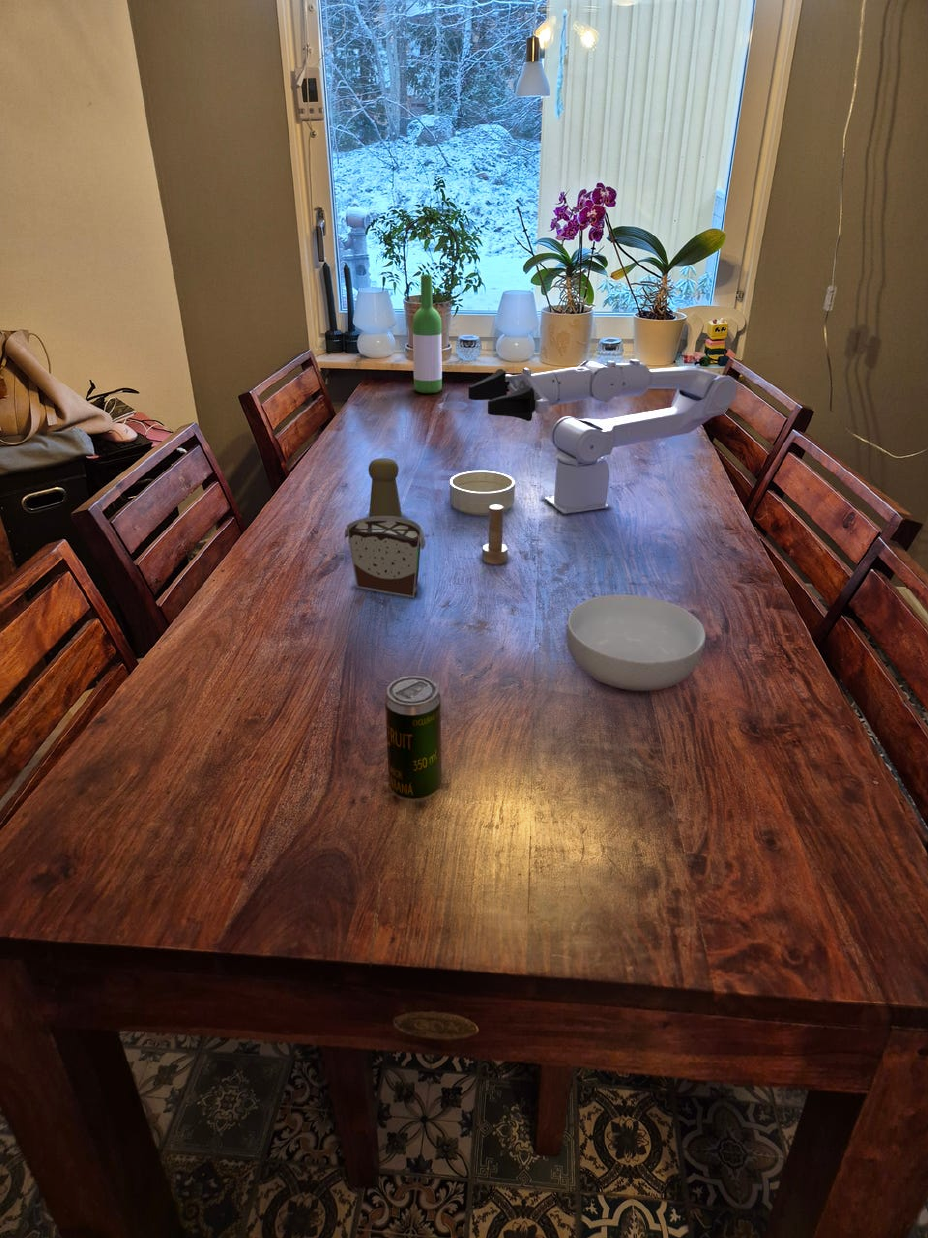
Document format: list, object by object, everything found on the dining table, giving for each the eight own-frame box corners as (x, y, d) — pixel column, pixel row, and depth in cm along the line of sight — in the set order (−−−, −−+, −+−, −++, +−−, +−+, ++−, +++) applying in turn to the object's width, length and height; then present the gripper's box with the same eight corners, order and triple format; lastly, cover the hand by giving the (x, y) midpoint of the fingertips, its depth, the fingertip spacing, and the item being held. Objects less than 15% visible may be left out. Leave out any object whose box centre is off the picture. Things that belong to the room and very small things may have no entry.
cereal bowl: (670, 729, 93) (678, 677, 89) (540, 684, 100) (543, 635, 97) (715, 661, 105) (724, 614, 102) (596, 627, 113) (601, 581, 110)
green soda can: (414, 762, 87) (411, 668, 81) (452, 784, 84) (452, 688, 78) (378, 788, 84) (372, 691, 78) (416, 812, 81) (413, 713, 75)
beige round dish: (498, 489, 160) (499, 467, 158) (524, 511, 150) (525, 488, 148) (441, 497, 156) (440, 474, 154) (463, 520, 146) (463, 496, 144)
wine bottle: (411, 393, 225) (408, 276, 210) (417, 386, 232) (415, 272, 217) (438, 394, 224) (438, 277, 209) (444, 388, 231) (443, 273, 216)
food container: (438, 581, 125) (437, 520, 120) (423, 599, 120) (422, 536, 115) (365, 569, 128) (361, 509, 123) (347, 586, 123) (343, 524, 118)
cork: (397, 527, 143) (395, 466, 138) (364, 524, 144) (361, 464, 139) (406, 514, 148) (404, 455, 143) (374, 511, 149) (371, 453, 144)
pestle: (501, 552, 134) (503, 500, 130) (511, 562, 131) (513, 509, 127) (478, 555, 133) (479, 503, 129) (488, 565, 130) (489, 512, 125)
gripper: (531, 353, 143) (461, 363, 139) (573, 378, 132) (498, 390, 128) (530, 392, 147) (461, 403, 143) (570, 419, 136) (497, 433, 132)
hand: (478, 400), depth 135 cm, fingers open, 7 cm apart
